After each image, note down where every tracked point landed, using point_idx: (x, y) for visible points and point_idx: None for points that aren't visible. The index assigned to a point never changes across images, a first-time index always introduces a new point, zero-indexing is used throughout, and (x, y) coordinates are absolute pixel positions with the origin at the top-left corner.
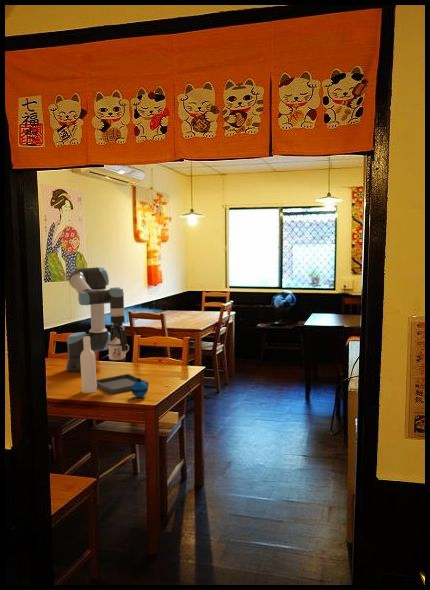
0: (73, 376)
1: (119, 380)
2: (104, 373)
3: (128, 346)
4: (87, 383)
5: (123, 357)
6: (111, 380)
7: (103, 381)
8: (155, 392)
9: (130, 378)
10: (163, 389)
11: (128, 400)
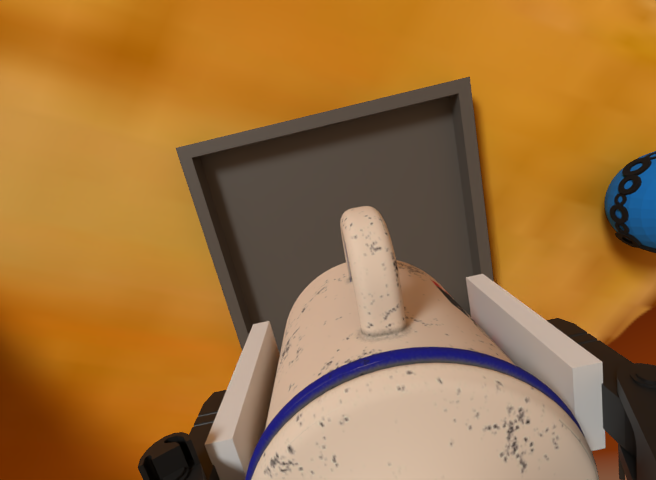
0: (31, 426)
1: (251, 223)
2: (14, 265)
3: (385, 226)
4: None
5: (443, 288)
6: (233, 268)
7: (248, 317)
8: (604, 82)
9: (237, 148)
10: (579, 9)
11: (637, 262)
